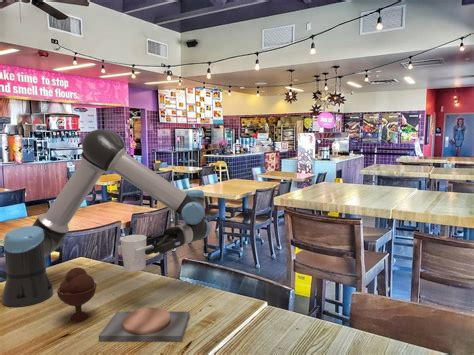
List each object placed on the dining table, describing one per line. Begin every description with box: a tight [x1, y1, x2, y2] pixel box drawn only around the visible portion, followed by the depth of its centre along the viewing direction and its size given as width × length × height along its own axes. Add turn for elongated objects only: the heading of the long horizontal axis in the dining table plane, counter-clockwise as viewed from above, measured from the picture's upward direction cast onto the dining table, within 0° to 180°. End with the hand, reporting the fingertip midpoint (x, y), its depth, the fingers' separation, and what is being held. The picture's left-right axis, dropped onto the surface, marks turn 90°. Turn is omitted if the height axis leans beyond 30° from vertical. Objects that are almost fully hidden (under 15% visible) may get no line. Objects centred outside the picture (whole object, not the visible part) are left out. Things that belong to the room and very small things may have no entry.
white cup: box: [120, 234, 147, 273], centre depth 119 cm, size 8×8×10 cm
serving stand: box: [98, 306, 191, 342], centre depth 105 cm, size 22×14×3 cm, turn 89°
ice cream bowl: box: [56, 266, 98, 323], centre depth 111 cm, size 11×11×15 cm
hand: (127, 252), depth 116 cm, fingers closed on white cup, 7 cm apart
